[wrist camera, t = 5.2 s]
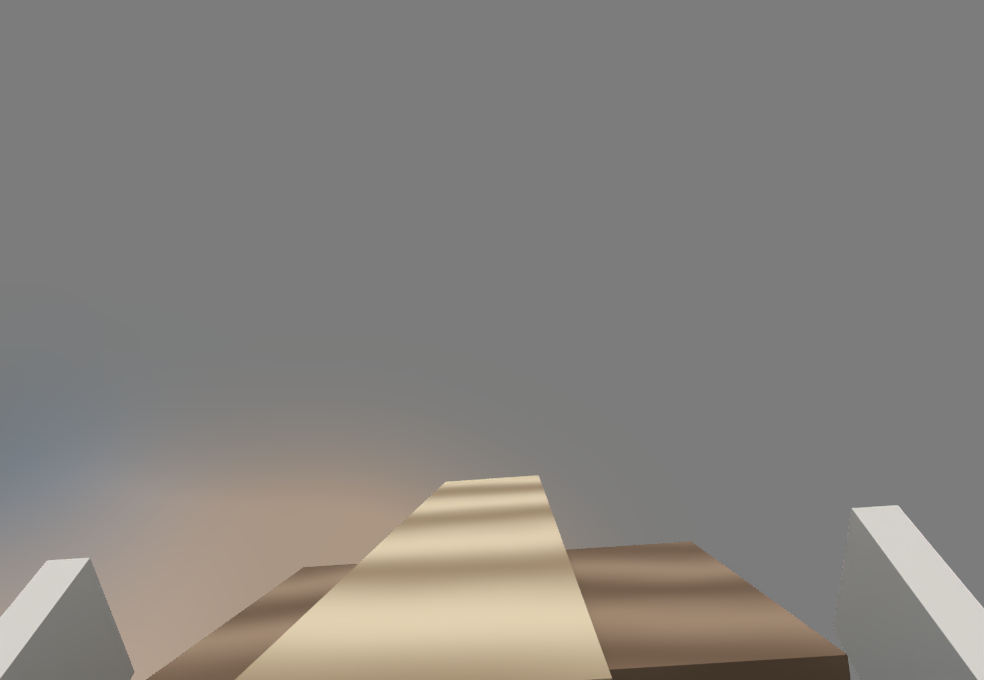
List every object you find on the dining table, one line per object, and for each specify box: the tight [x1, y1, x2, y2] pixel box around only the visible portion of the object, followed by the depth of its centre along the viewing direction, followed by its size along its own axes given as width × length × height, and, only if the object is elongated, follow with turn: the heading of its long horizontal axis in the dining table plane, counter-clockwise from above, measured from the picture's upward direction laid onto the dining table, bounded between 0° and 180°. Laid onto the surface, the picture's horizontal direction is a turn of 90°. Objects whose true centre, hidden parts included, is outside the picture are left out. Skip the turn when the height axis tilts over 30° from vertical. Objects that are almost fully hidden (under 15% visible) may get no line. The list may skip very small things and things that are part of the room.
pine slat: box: [235, 475, 612, 680], centre depth 19 cm, size 24×4×3 cm, turn 178°
